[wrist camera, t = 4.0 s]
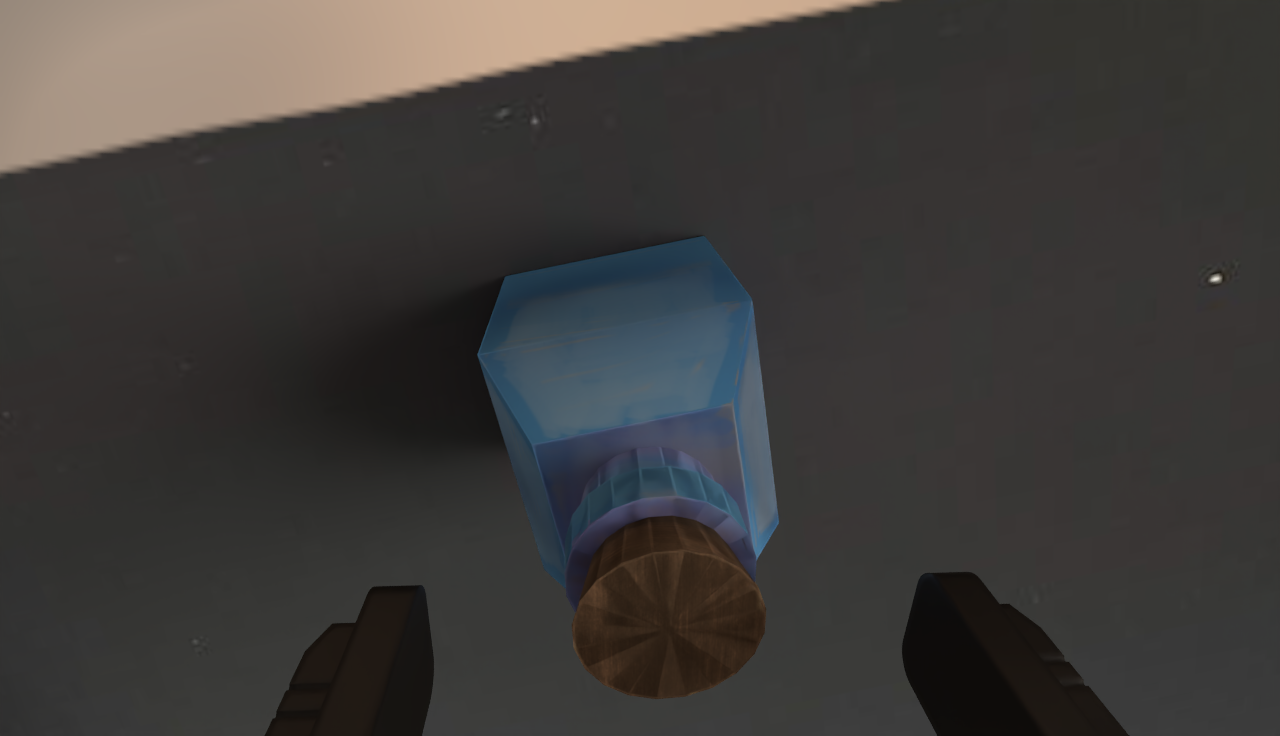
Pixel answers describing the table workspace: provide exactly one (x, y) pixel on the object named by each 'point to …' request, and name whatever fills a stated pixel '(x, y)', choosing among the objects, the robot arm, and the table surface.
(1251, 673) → the table surface
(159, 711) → the table surface
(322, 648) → the robot arm
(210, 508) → the table surface
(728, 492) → the perfume bottle
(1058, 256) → the table surface
